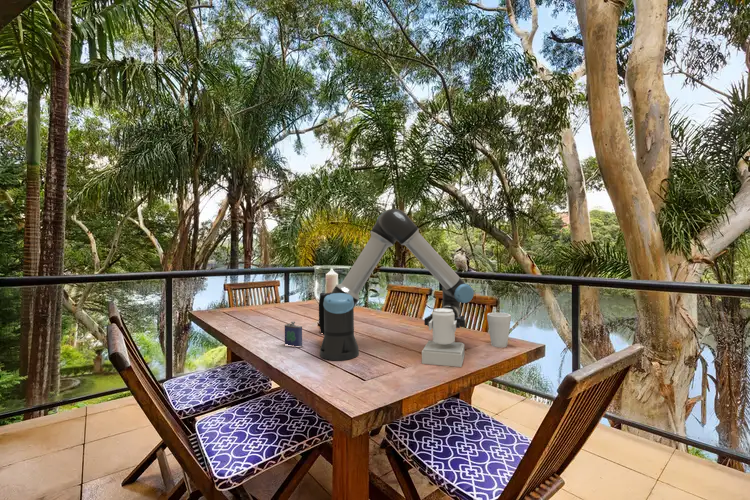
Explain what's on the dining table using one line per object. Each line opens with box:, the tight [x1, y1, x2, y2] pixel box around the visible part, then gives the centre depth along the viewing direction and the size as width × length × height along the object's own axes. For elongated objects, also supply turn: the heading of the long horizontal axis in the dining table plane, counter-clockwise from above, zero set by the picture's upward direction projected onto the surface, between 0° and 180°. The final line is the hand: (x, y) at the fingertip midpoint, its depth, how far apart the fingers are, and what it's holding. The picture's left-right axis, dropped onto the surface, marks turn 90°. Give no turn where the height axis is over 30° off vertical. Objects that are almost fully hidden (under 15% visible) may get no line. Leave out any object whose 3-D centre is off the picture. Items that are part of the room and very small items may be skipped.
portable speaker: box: [318, 291, 332, 335], centre depth 180 cm, size 9×9×20 cm
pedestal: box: [421, 340, 465, 368], centre depth 138 cm, size 14×14×5 cm
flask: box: [284, 321, 303, 347], centre depth 158 cm, size 9×3×11 cm, turn 61°
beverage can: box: [431, 307, 456, 344], centre depth 138 cm, size 8×8×12 cm
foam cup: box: [486, 312, 512, 348], centre depth 156 cm, size 10×9×13 cm
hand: (441, 327), depth 133 cm, fingers closed on beverage can, 8 cm apart
